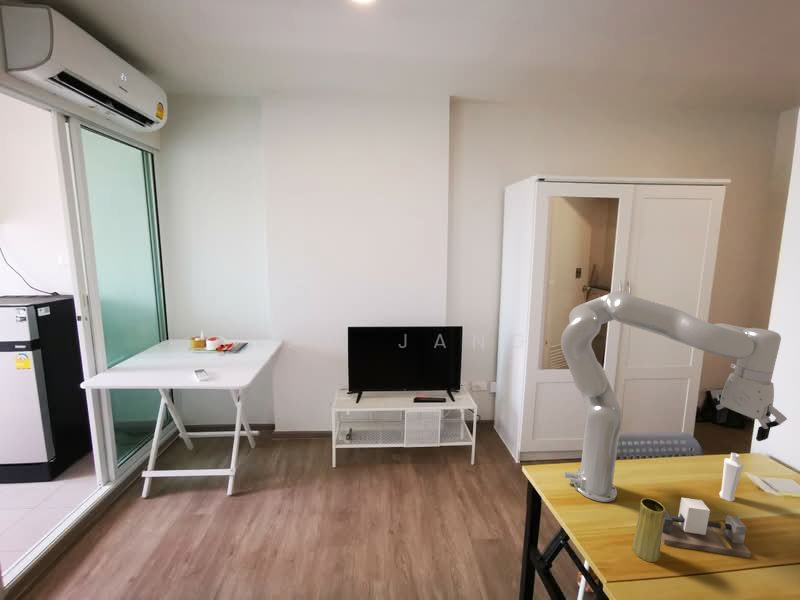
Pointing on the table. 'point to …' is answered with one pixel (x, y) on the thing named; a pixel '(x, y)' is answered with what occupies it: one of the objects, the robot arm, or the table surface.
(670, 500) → the table surface
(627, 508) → the table surface
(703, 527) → the notched white rod block
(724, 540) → the linear slide rail
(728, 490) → the perfume bottle
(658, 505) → the vase
